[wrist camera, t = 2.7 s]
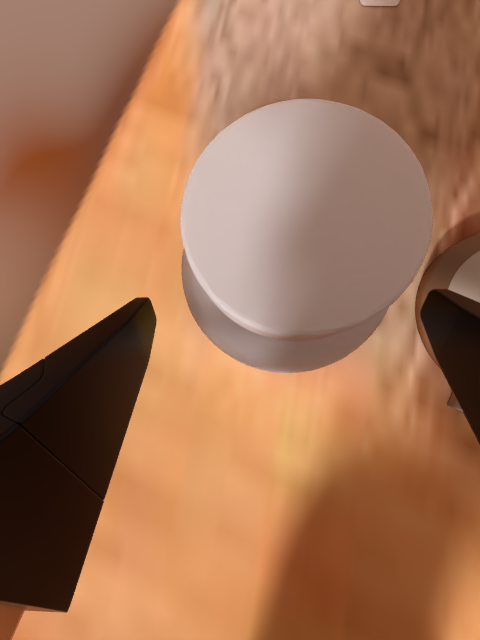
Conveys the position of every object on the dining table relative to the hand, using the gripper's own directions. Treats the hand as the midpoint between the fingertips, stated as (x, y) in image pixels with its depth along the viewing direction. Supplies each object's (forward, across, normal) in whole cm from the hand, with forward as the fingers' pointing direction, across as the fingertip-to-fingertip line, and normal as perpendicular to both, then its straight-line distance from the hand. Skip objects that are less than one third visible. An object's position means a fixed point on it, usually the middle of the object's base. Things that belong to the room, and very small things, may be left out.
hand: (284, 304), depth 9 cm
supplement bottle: (+7, 0, +6) cm, 9 cm away
